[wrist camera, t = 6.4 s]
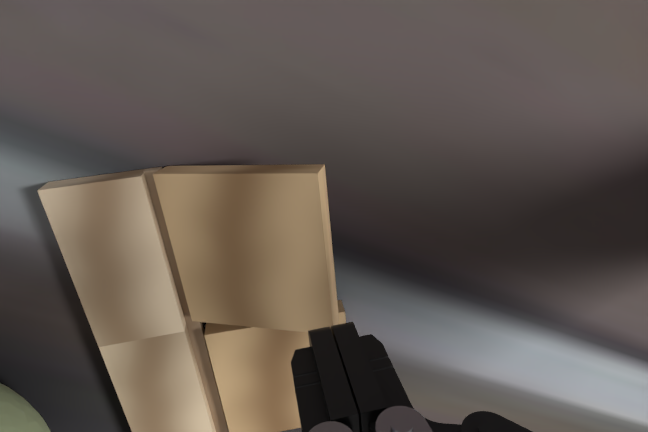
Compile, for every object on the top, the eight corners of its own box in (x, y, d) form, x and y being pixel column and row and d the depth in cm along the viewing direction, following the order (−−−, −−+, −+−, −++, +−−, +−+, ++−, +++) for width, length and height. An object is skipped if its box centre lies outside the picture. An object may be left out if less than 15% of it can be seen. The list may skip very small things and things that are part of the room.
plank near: (324, 164, 19) (317, 173, 18) (339, 319, 22) (333, 335, 21) (167, 165, 21) (152, 174, 20) (202, 307, 24) (192, 321, 23)
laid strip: (161, 166, 21) (157, 173, 20) (228, 425, 28) (228, 441, 27) (48, 182, 20) (37, 190, 19) (146, 443, 28) (143, 460, 26)
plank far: (341, 299, 26) (345, 311, 24) (350, 402, 29) (354, 417, 28) (206, 321, 25) (204, 335, 24) (232, 425, 28) (231, 440, 27)
